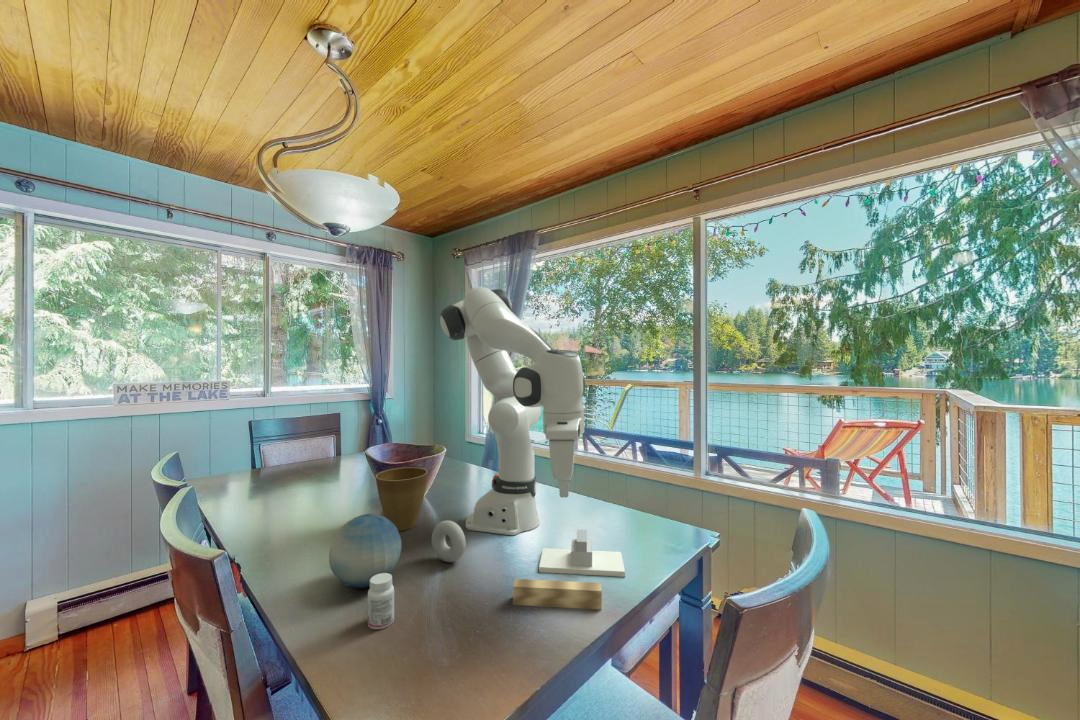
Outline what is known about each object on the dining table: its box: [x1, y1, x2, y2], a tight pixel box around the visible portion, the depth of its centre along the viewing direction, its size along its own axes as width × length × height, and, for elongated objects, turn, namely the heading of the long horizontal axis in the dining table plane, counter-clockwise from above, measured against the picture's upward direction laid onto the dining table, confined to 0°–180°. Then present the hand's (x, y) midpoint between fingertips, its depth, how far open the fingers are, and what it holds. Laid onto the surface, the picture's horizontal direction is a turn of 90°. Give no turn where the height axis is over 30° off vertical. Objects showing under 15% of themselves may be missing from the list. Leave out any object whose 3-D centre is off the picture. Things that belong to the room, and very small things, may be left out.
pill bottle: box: [367, 573, 395, 630], centre depth 80 cm, size 5×5×8 cm
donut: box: [431, 520, 467, 563], centre depth 104 cm, size 10×4×10 cm, turn 61°
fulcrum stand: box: [538, 529, 626, 578], centre depth 103 cm, size 20×10×7 cm, turn 84°
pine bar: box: [512, 578, 603, 610], centre depth 86 cm, size 18×3×4 cm, turn 85°
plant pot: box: [375, 466, 428, 532], centre depth 126 cm, size 15×15×16 cm
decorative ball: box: [328, 513, 402, 589], centre depth 94 cm, size 15×15×15 cm
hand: (565, 489), depth 90 cm, fingers open, 8 cm apart
